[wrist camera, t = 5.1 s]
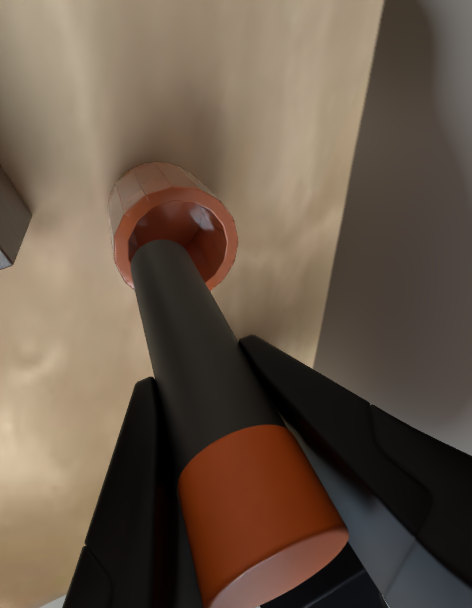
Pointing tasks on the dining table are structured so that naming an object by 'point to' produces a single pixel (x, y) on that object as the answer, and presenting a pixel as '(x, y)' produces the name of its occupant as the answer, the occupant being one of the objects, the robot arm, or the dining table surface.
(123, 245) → the pen cup
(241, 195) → the dining table surface
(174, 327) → the marker
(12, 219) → the dark wooden box
